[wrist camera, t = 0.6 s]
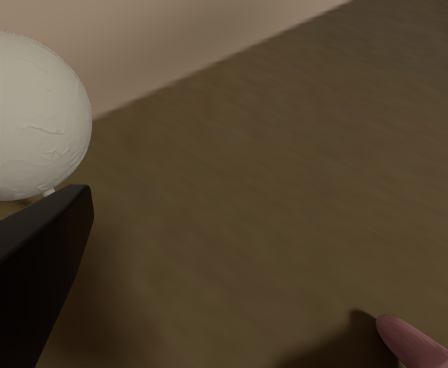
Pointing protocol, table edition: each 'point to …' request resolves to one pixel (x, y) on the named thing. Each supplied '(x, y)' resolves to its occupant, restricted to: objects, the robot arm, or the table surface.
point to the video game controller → (411, 344)
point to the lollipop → (38, 118)
